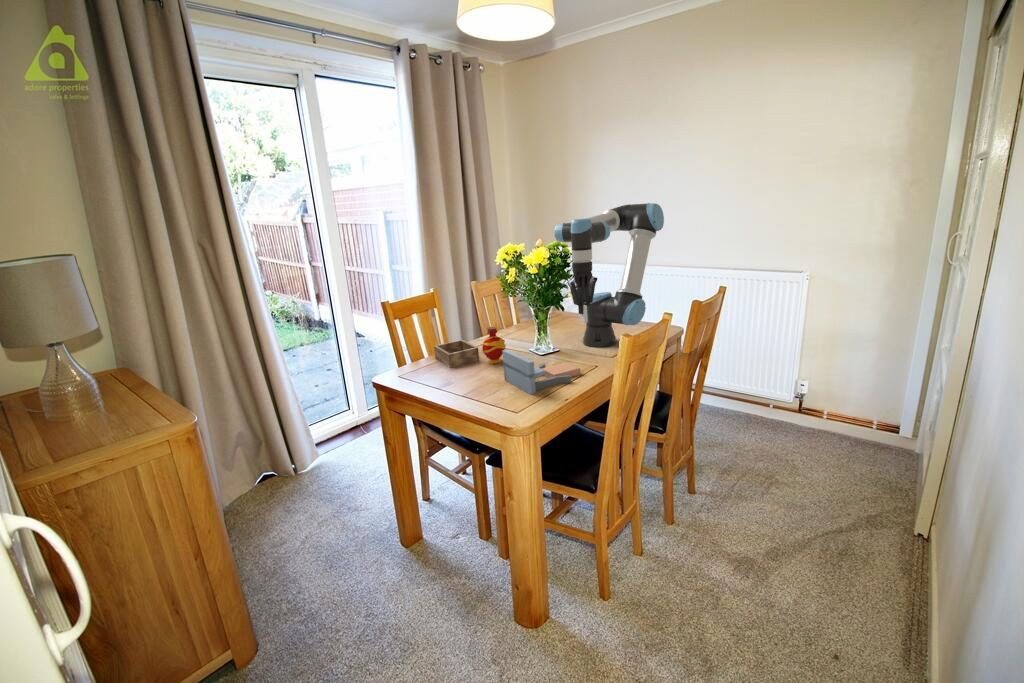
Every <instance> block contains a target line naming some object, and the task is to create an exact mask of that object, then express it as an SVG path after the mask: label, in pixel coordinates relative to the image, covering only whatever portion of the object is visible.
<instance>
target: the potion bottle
mask: <svg viewBox="0 0 1024 683" xmlns="http://www.w3.org/2000/svg"><path fill="white" fill-rule="evenodd" d="M497 329H498V328H497V326H489V327H487V334H489V336H488V337H486V338H485V339H484V341H483V343H482V353H483V354H484V355H485V356H486V358H487V359H489V363H490V364H497V363H501V361H502V360H501V358H502V357H503V352H502V350H506V346H507V345H506V344H505V339H503V337H500V336H497V333H498V330H497Z"/></svg>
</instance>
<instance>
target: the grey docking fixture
mask: <svg viewBox="0 0 1024 683" xmlns="http://www.w3.org/2000/svg"><path fill="white" fill-rule="evenodd" d="M502 352H503V354H502V363H503V373H504V374H503V376H504V381H506V382H507V383H509V384H511V385H513V386H514V387H516V388H518V389H520V390H522V391H523V392H526V393H527V394H529V395H531V396H532V395H535V394H537V390H542V389H544V388H547V387H552V386H554V385H557V384H569V383H572V377H571V376H570V375H565V376H555V377H551V378H547V377H546V378H544V379H541V380H537V381H536V378H538V377H541V376H544V375H545V370H543V369H542V368H546V363H542V364H540V365H538V366H536V365H535V362H534V360H531V359H530V358H526V357H524V356H522V355H520V354H518V353H516V352H514V351H511V350H509V349H506V348H505V350H502Z"/></svg>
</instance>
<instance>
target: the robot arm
mask: <svg viewBox="0 0 1024 683" xmlns="http://www.w3.org/2000/svg"><path fill="white" fill-rule="evenodd" d="M664 223H665V216H664V211H663V209H662V207H661V205H660V204H658V203H654V202H652V203H651V202H648V203H634V204H633V203H632V204H624V205H620V206H616V207H614V208H610V209H608V210H605V211H603V213H601V214H597V215H594V216H590V217H586V218H575V219H572V220H571V222H562V223H558V224H557V225H555V227H554V232H553V233H554V238H555V240H556V241H557V242H559V243H564V244H565V243H571V261H572V263H571V269H572V270H571V271H572V273H573V274H572V279H571V280H568V281H567V285H568V286H569V289H570V293H571V294H570V295H571V297H572V303H573V305H576V306H577V307H578V309H577V311H578V314H579V322H581V323H585V324H586V327H585V331H584V334H583V337H582V343H583V345H585V346H587V347H592V348H593V347H594V348H604V347H611V346H613V345H615V344H617V343H616V342H617V338H616V337H617V336H616V335H615V330H614V329H613V324H620V325H624V326H636V325H639V323H640V322H641V321H642V320H643V318H644V316H645V313H646V302H645V300H644V299H643V297H644V296H643V295H642V293H641V289H642V284H643V280H644V275H645V270H646V264H647V260H648V257H649V256H648V255H649V251H650V246H651V241H652V239H654V238H655V237H656V236H657V232H659V231H662V229H663V227H664V225H665V224H664ZM617 231H623V232H628V234H629V235H630V241H629V246H628V250H627V255H626V260H625V264H624V269H623V274H622V280H621V284H620V288H619V289H618V290H616V291H615V295H614V296H613V295H612V293H611V292H609V291H608V292H607V291H606V292H597V293H595V290H596V289H595V288H596V284H597V281H598V277H595V276H593V273H592V271H593V261H592V260H593V244H595V243H601V242H604V241H606V240H607V239H609V237H610V236H611V232H617Z"/></svg>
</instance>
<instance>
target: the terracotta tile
mask: <svg viewBox="0 0 1024 683" xmlns="http://www.w3.org/2000/svg"><path fill="white" fill-rule="evenodd" d="M542 369H543V370H545V375H543V377H546V379H547V378H551V377H555V376H565V375H570V376H571V378H572V377H575V376H580V375H581V367H579V366H576V365H574V364H573V363H570V362H568V361H566V362H561V363H559V364H555V365H551V366H545V368H542Z"/></svg>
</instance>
